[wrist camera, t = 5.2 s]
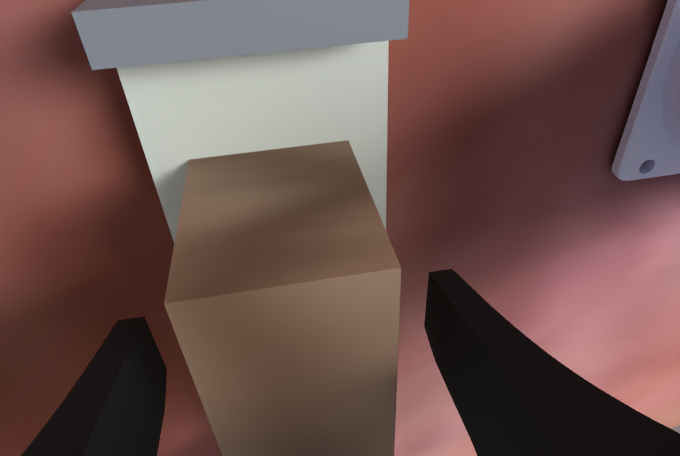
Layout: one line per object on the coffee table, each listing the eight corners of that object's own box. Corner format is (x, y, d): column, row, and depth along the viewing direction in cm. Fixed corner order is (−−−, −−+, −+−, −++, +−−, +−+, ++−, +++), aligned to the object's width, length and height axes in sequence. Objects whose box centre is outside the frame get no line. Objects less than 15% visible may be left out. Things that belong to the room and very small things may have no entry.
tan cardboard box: (348, 139, 12) (400, 268, 8) (356, 336, 17) (392, 480, 13) (188, 159, 12) (163, 303, 8) (241, 356, 16) (242, 510, 12)
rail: (373, -40, 11) (488, 31, 6) (375, 467, 26) (410, 616, 20) (108, -19, 11) (-15, 81, 5) (264, 489, 25) (270, 649, 20)
